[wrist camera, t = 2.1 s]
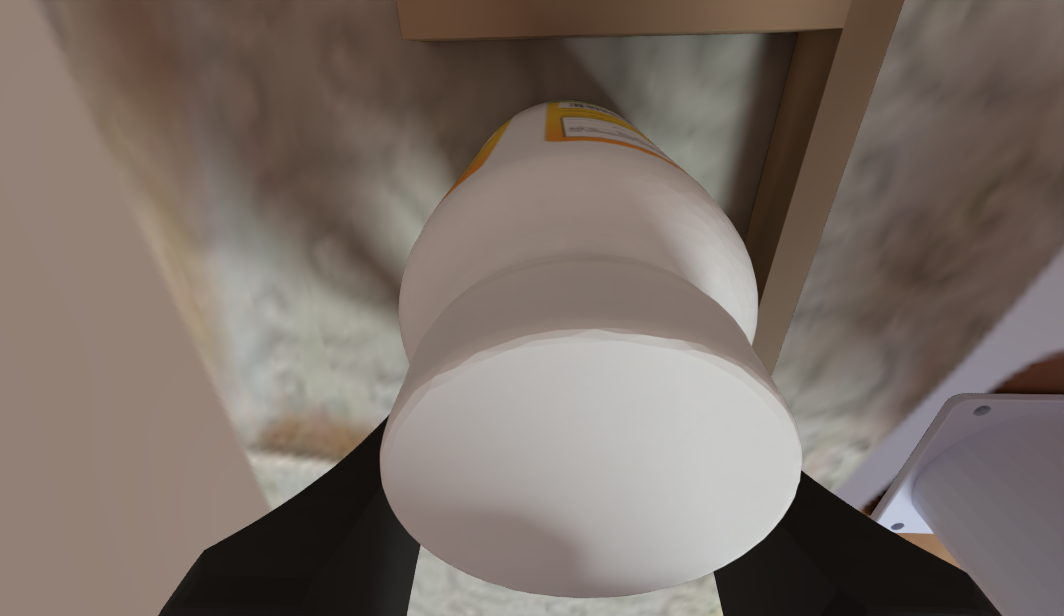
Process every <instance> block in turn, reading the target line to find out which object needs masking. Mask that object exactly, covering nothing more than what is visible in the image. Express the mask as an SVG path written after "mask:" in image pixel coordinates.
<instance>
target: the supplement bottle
mask: <svg viewBox="0 0 1064 616" xmlns="http://www.w3.org/2000/svg"><path fill="white" fill-rule="evenodd" d="M757 314H758V292H757V285H756V279H755V274H754V270H753V267H752V263H751V260H750V257H749V255H748V252H747V250H746V247H745V245H744V242H743V241H742V239H741V237H740V236H739V234H738V232H737V230H736V229H735V227H734V225H733V224H732V223H731V221H730V220H729V218H728V217H727V216H726V214H725V213H724V212H723V210H722V209H721V208H720V207H719V205H718V204H717V203H716V202H715V200H714V199H713V198H712V197H711V196H710V195H709V194H708V193H707V191H706V190H705V189H704V188H703V187H702V186H701V185H700V184H699V183H698V182H697V181H695V180H694V179H693V178H692V177H691V176H690V175H689V174H687V173H686V172H685V171H684V170H683V169H682V168H680V167H679V166H678V165H677V164H676V163H675V162H674V161H672V160H671V159H670V158H669V157H668V156H667V155H666V154H664V153H663V152H662V151H661V150H660V149H659V148H658V147H656V146H655V145H654V144H653V143H652V142H651V141H650V140H649V139H647V138H646V137H645V136H644V135H643V134H642V133H641V132H639V131H638V130H637V129H636V128H635V127H634V126H633V125H631V124H630V123H629V122H627V121H626V120H625V119H624V118H622V117H621V116H619V115H617V114H616V113H614V112H612V111H610V110H608V109H606V108H604V107H601V106H598V105H595V104H592V103H588V102H583V101H576V100H559V101H550V102H546V103H542V104H538V105H535V106H532V107H530V108H528V109H525V110H523V111H521V112H520V113H518V114H516V115H515V116H513V117H512V118H510V119H509V120H508V121H506V122H505V123H504V124H503V125H501V126H500V127H499V128H498V129H497V130H496V131H495V132H494V133H493V135H492V136H491V137H490V138H489V139H488V141H487V142H486V143H485V145H484V146H483V147H482V149H481V150H480V152H479V153H478V154H477V156H476V157H475V158H474V160H473V161H472V162H471V164H470V165H469V166H468V168H467V169H466V170H465V172H464V173H463V174H462V175H461V177H460V178H459V179H458V180H457V182H456V183H455V184H454V186H453V187H452V188H451V189H450V191H449V192H448V193H447V194H446V196H445V197H444V198H443V199H442V201H441V202H440V204H439V205H438V206H437V208H436V209H435V211H434V212H433V214H432V215H431V217H430V218H429V220H428V221H427V223H426V224H425V226H424V228H423V230H422V232H421V233H420V235H419V237H418V239H417V241H416V242H415V244H414V246H413V248H412V251H411V253H410V255H409V258H408V260H407V264H406V267H405V270H404V274H403V278H402V282H401V289H400V296H399V323H400V330H401V336H402V341H403V346H404V349H405V352H406V355H407V358H408V360H409V363H410V366H409V369H408V372H407V375H406V378H405V380H404V382H403V385H402V387H401V389H400V392H399V394H398V396H397V399H396V401H395V403H394V406H393V408H392V410H391V413H390V415H389V418H388V421H387V424H386V427H385V431H384V434H383V439H382V443H381V448H380V472H381V480H382V486H383V489H384V492H385V494H386V497H387V499H388V502H389V504H390V506H391V509H392V510H393V512H394V514H395V515H396V517H397V518H398V520H399V521H400V523H401V524H402V525H403V527H404V528H405V529H406V531H407V532H408V533H409V534H410V535H411V536H412V537H413V538H414V539H415V540H416V541H417V542H418V543H419V544H420V545H422V546H423V547H424V548H426V549H427V550H428V551H430V552H431V553H432V554H434V555H435V556H437V557H438V558H440V559H441V560H443V561H444V562H446V563H447V564H449V565H451V566H453V567H455V568H457V569H459V570H461V571H463V572H465V573H467V574H469V575H471V576H474V577H476V578H479V579H481V580H483V581H486V582H490V583H493V584H497V585H500V586H503V587H506V588H509V589H512V590H516V591H522V592H527V593H533V594H541V595H549V596H556V597H572V598H598V597H619V596H629V595H636V594H642V593H647V592H651V591H655V590H659V589H664V588H668V587H673V586H676V585H679V584H682V583H685V582H688V581H691V580H694V579H697V578H700V577H702V576H704V575H706V574H708V573H711V572H713V571H715V570H717V569H719V568H721V567H724V566H725V565H727V564H729V563H730V562H732V561H734V560H735V559H737V558H739V557H741V556H742V555H744V554H745V553H746V552H747V551H749V550H750V549H751V548H753V547H754V546H755V545H757V544H758V543H759V542H761V541H762V540H763V539H764V538H765V537H766V536H767V535H768V534H769V533H770V532H771V531H772V530H773V529H774V528H775V526H776V525H777V524H778V523H779V521H780V520H781V519H782V518H783V516H784V514H785V513H786V511H787V510H788V508H789V507H790V505H791V503H792V501H793V499H794V497H795V494H796V490H797V487H798V484H799V482H800V474H801V466H802V452H801V442H800V437H799V433H798V429H797V425H796V422H795V420H794V417H793V415H792V413H791V411H790V409H789V407H788V406H787V404H786V402H785V401H784V399H783V397H782V395H781V394H780V392H779V390H778V389H777V387H776V385H775V383H774V382H773V380H772V378H771V377H770V375H769V373H768V372H767V370H766V369H765V367H764V366H763V364H762V363H761V361H760V359H759V358H758V356H757V355H756V353H755V352H754V350H753V348H752V343H753V340H754V336H755V331H756V326H757Z"/></svg>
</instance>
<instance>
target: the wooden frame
mask: <svg viewBox="0 0 1064 616" xmlns="http://www.w3.org/2000/svg"><path fill="white" fill-rule="evenodd" d="M396 3H397V9H398V16H399V23H400V29H401V36H402V39H403V40H413V41H422V42H434V41H473V40H513V39H552V38H591V37H631V36H670V35H709V34H748V33H788V32H798V36H797V40H796V44H795V48H794V51H793V55H792V59H791V63H790V67H789V71H788V75H787V79H786V83H785V86H784V90H783V94H782V98H781V102H780V106H779V110H778V114H777V118H776V121H775V125H774V129H773V133H772V137H771V141H770V145H769V149H768V153H767V156H766V160H765V164H764V168H763V172H762V176H761V180H760V184H759V188H758V191H757V195H756V199H755V203H754V207H753V211H752V215H751V219H750V223H749V226H748V230H747V234H746V238H745V242H744V245H745V247H746V250H747V252H748V255H749V257H750V260H751V263H752V267H753V270H754V274H755V279H756V285H757V292H758V314H757V326H756V331H755V336H754V340H753V343H752V348H753V350H754V352H755V353H756V355H757V356H758V358H759V359H760V361H761V363H762V364H763V366H764V367H765V369H766V370H767V372H768V373H769V375H770V376H771V375H772V373H773V370H774V367H775V364H776V361H777V358H778V356H779V353H780V350H781V347H782V344H783V342H784V339H785V336H786V333H787V330H788V327H789V325H790V322H791V319H792V316H793V313H794V310H795V308H796V305H797V302H798V299H799V296H800V294H801V291H802V288H803V285H804V282H805V279H806V277H807V274H808V271H809V268H810V265H811V263H812V260H813V257H814V254H815V251H816V248H817V246H818V243H819V240H820V237H821V234H822V232H823V229H824V226H825V223H826V220H827V217H828V215H829V212H830V209H831V206H832V203H833V201H834V198H835V195H836V192H837V189H838V186H839V184H840V181H841V178H842V175H843V172H844V170H845V167H846V164H847V161H848V158H849V155H850V153H851V150H852V147H853V144H854V141H855V139H856V136H857V133H858V130H859V127H860V124H861V122H862V119H863V116H864V113H865V110H866V107H867V105H868V102H869V99H870V96H871V93H872V91H873V88H874V85H875V82H876V79H877V76H878V74H879V71H880V68H881V65H882V62H883V60H884V57H885V54H886V51H887V48H888V45H889V43H890V40H891V37H892V34H893V31H894V29H895V26H896V23H897V20H898V17H899V14H900V12H901V9H902V6H903V3H904V0H396Z"/></svg>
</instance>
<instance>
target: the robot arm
mask: <svg viewBox="0 0 1064 616" xmlns="http://www.w3.org/2000/svg"><path fill="white" fill-rule="evenodd" d="M389 415H390V414H389ZM389 415H388V416H387V418H386V419H385V420H384V421H383V422H382V423H381V424H380V425H379V426H378V427H377V428H376V429H375V430H374V431H373V432H372V433H371V434H370V435H369V436H368V437H367V438H366V439H365V440H364V441H363V442H362V443H361V444H359V445H358V446H357V447H356V448H355V449H354V450H353V451H352V452H351V453H350V454H348V455H347V456H346V457H345V458H344V459H343V460H341V461H340V462H339V463H338V464H337V465H336V466H334V467H333V468H332V469H331V470H329V471H328V472H327V473H326V474H324V475H323V476H321V477H320V478H319V479H317V480H316V481H315V482H313V483H312V484H311V485H309V486H308V487H307V488H305V489H304V490H303V491H301V492H300V493H298V494H297V495H296V496H294V497H293V498H291V499H290V500H288V501H287V502H285V503H284V504H282V505H281V506H279V507H278V508H276V509H274V510H273V511H271V512H270V513H268V514H267V515H265V516H263V517H262V518H260V519H259V520H257V521H255V522H254V523H252V524H250V525H249V526H247V527H245V528H243V529H242V530H240V531H238V532H236V533H235V534H233V535H231V536H229V537H228V538H226V539H224V540H222V541H220V542H219V543H217V544H215V545H213V546H211V547H209V548H208V549H206V550H204V551H203V553H202V554H201V555H200V556H199V558H198V559H197V561H196V562H195V563H194V564H193V566H192V567H191V568H190V570H189V571H188V573H187V574H186V576H185V577H184V579H183V580H182V581H181V583H180V584H179V586H178V587H177V589H176V590H175V591H174V593H173V594H172V596H171V597H170V599H169V600H168V602H167V603H166V604H165V606H164V607H163V609H162V610H161V612H160V614H159V615H158V616H407V611H408V605H409V600H410V595H411V590H412V584H413V579H414V574H415V569H416V564H417V559H418V555H419V550H420V544H419V543H418V542H417V541H416V540H415V539H414V538H413V537H412V536H411V535H410V534H409V533H408V532H407V531H406V529H405V528H404V527H403V525H402V524H401V523H400V521H399V520H398V518H397V517H396V515H395V514H394V512H393V510H392V509H391V506H390V504H389V502H388V499H387V497H386V494H385V492H384V489H383V486H382V480H381V472H380V448H381V443H382V439H383V434H384V431H385V427H386V424H387V421H388V418H389ZM894 532H897V533H931V534H935V536H936V537H937V538H938V539H939V541H940V542H941V543H942V544H943V546H944V547H945V548H946V549H947V551H948V552H949V553H950V554H951V556H952V557H953V558H954V559H955V561H956V562H957V563H958V564H959V566H960V567H961V568H962V569H963V570H961V569H959V568H957V567H955V566H953V565H952V564H950V563H948V562H946V561H944V560H942V559H940V558H939V557H937V556H935V555H933V554H931V553H929V552H927V551H926V550H924V549H922V548H920V547H918V546H916V545H914V544H912V543H911V542H909V541H907V540H905V539H904V538H902V537H900V536H899V535H897V534H895V533H894ZM713 572H714V576H715V580H716V585H717V589H718V594H719V598H720V602H721V607H722V611H723V616H1064V395H1052V394H980V393H977V394H976V393H974V394H973V393H964V394H958V395H955V396H953V397H951V398H949V399H948V400H947V401H946V402H945V404H944V405H943V407H942V408H941V410H940V412H939V413H938V414H937V416H936V418H935V419H934V420H933V422H932V424H931V425H930V427H929V428H928V429H927V431H926V433H925V434H924V435H923V437H922V439H921V440H920V442H919V443H918V445H917V446H916V448H915V449H914V451H913V452H912V454H911V455H910V457H909V458H908V460H907V461H906V463H905V465H904V466H903V467H902V469H901V470H900V472H899V473H898V475H897V476H896V478H895V479H894V481H893V482H892V484H891V486H890V487H889V489H888V490H887V492H886V493H885V495H884V496H883V498H882V499H881V501H880V502H879V504H878V505H877V507H876V508H875V510H874V511H873V513H872V514H871V516H870V517H867V516H866V515H864V514H863V513H861V512H859V511H858V510H856V509H855V508H853V507H852V506H850V505H849V504H847V503H846V502H845V501H843V500H842V499H840V498H839V497H837V496H836V495H834V494H833V493H831V492H830V491H828V490H827V489H826V488H824V487H823V486H821V485H820V484H819V483H817V482H816V481H815V480H813V479H812V478H811V477H809V476H808V475H807V474H805V473H804V472H803V471H802V470H801V474H800V482H799V484H798V487H797V490H796V494H795V497H794V499H793V501H792V503H791V505H790V507H789V508H788V510H787V511H786V513H785V514H784V516H783V518H782V519H781V520H780V521H779V523H778V524H777V525H776V526H775V528H774V529H773V530H772V531H771V532H770V533H769V534H768V535H767V536H766V537H765V538H764V539H763V540H762V541H761V542H759V543H758V544H757V545H755V546H754V547H753V548H751V549H750V550H749V551H747V552H746V553H745V554H744V555H742V556H741V557H739V558H737V559H735V560H734V561H732V562H730V563H729V564H727V565H725V566H724V567H721V568H719V569H717V570H715V571H713Z"/></svg>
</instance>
